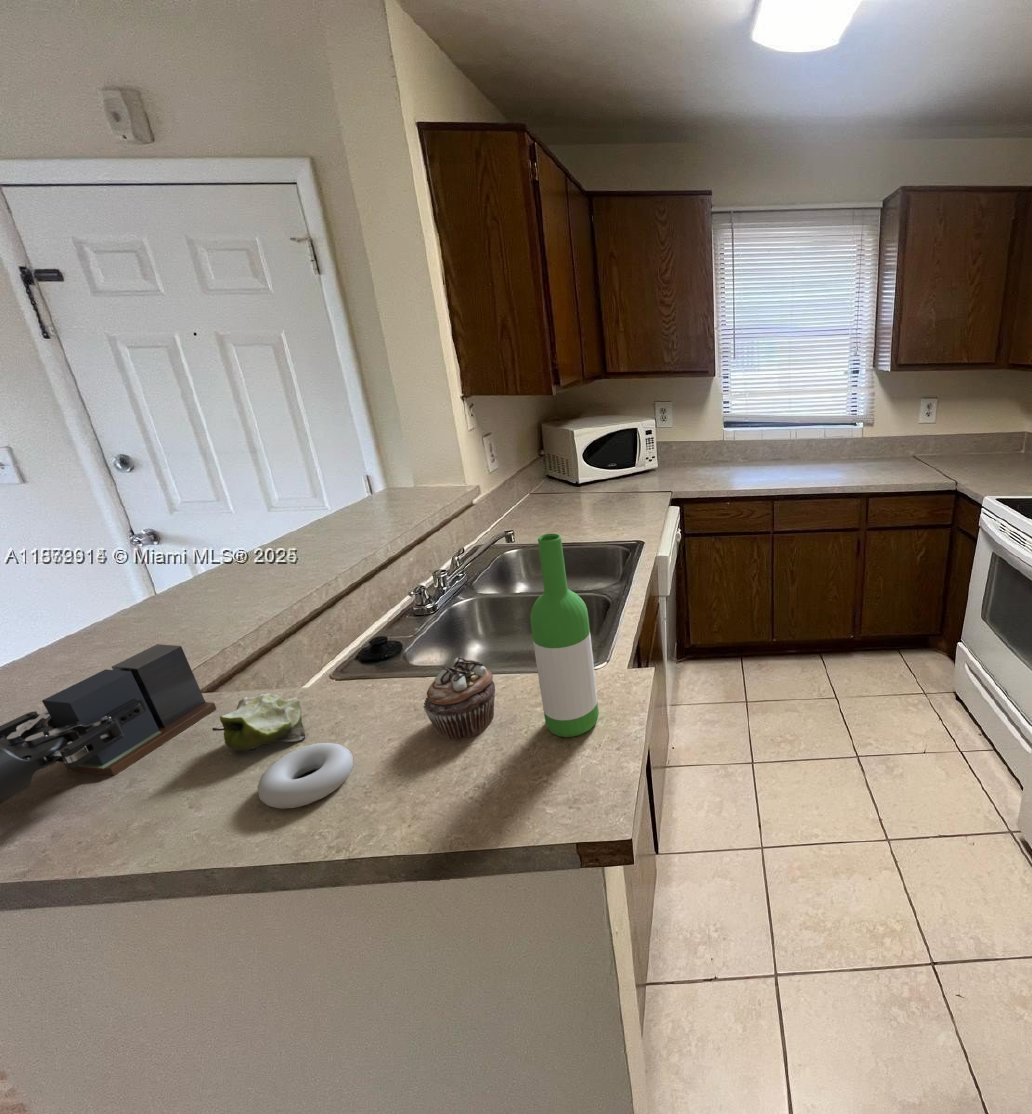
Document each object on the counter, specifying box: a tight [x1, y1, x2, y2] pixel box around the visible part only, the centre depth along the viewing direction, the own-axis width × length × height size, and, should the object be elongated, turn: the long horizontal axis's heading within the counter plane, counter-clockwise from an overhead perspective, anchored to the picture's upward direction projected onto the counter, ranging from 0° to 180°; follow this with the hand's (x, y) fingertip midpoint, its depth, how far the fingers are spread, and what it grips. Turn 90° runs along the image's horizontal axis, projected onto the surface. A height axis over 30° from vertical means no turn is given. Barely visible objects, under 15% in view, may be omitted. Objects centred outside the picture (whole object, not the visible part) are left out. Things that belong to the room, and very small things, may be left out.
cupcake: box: [423, 656, 496, 741], centre depth 83 cm, size 10×10×10 cm
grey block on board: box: [64, 643, 217, 776], centre depth 79 cm, size 7×14×11 cm, turn 173°
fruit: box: [211, 692, 306, 752], centre depth 80 cm, size 9×9×8 cm
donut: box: [257, 742, 354, 810], centre depth 73 cm, size 10×4×10 cm
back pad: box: [41, 668, 159, 765], centre depth 76 cm, size 7×4×10 cm, turn 173°
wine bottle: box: [529, 533, 600, 738], centre depth 80 cm, size 8×8×30 cm
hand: (117, 701), depth 77 cm, fingers open, 6 cm apart
